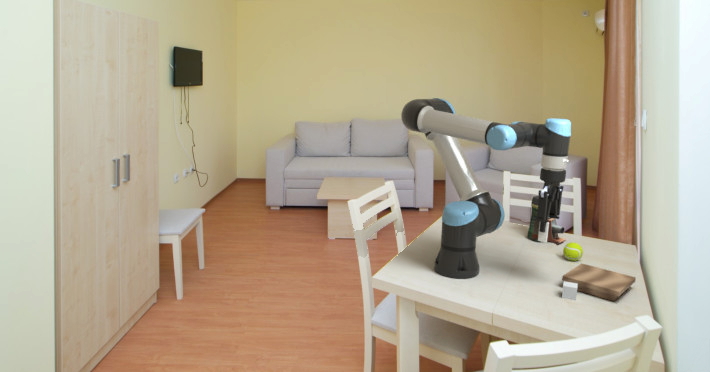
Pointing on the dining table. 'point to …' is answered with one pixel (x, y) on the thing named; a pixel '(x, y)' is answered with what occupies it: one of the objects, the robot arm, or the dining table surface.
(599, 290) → the stand
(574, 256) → the tennis ball
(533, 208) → the coffee jar
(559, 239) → the electronic device
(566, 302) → the dining table surface
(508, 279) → the dining table surface
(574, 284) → the grey block
